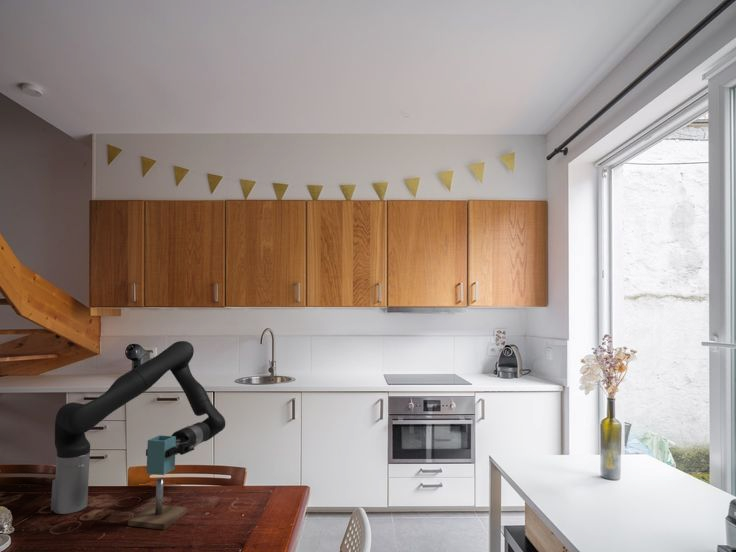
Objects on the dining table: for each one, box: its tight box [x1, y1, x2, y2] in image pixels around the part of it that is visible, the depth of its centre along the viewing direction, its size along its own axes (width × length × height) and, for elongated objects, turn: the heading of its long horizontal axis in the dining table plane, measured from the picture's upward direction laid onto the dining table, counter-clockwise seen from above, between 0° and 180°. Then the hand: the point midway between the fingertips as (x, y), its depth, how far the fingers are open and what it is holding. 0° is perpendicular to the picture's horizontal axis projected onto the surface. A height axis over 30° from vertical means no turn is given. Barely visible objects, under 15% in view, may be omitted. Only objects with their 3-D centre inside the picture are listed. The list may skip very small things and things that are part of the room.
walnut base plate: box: [127, 503, 188, 530], centre depth 147 cm, size 12×12×2 cm
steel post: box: [155, 477, 164, 515], centre depth 148 cm, size 2×2×10 cm
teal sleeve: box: [145, 434, 176, 476], centre depth 149 cm, size 6×6×10 cm
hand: (156, 453), depth 146 cm, fingers closed on teal sleeve, 5 cm apart
